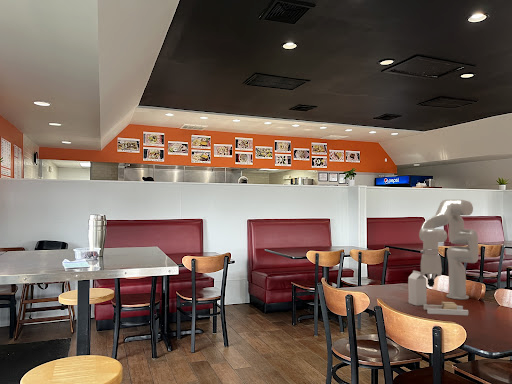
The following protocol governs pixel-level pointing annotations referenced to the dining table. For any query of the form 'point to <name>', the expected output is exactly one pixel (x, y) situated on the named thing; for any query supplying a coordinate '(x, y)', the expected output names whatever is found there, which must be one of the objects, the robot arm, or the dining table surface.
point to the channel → (444, 310)
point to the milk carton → (417, 289)
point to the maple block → (449, 305)
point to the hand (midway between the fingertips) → (430, 286)
